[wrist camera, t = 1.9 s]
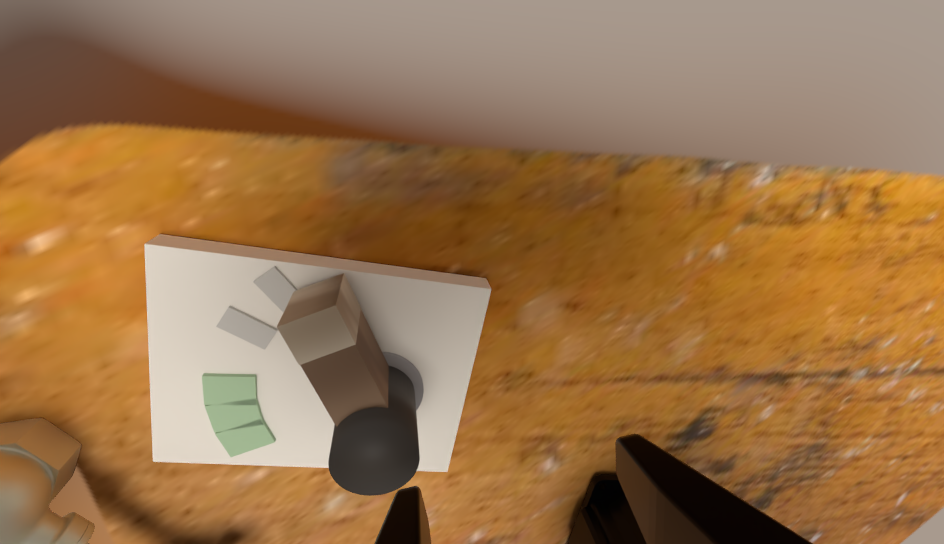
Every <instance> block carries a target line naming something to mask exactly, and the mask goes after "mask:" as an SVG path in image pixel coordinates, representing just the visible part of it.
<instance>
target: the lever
mask: <svg viewBox="0 0 944 544" xmlns="http://www.w3.org/2000/svg"><path fill="white" fill-rule="evenodd" d="M277 328H278V330H279V332H280V334H281V335H282V337H283V339H284V340H285V342H286V344H287V346H288V347H289V349H290V351H291V352H292V354H293V356H294V357H295V359H296V361H297V363H298V364H299V365H301V367H302V369H303V371H304V372H305V374H306V376H307V377H308V379H309V381H310V383H311V384H312V386H313V388H314V389H315V391H316V393H317V394H318V396H319V398H320V400H321V401H322V403H323V405H324V406H325V408H326V410H327V412H328V413H329V415H330V417H331V418H332V420H333V422H334V424H335V425H334V431H333V437H332V443H331V449H330V455H329V462H328V465H329V471H330V474H331V476H332V477H333V479H334V480H335V482H336V483H337V484H338V485H340V486H341V487H342V488H344V489H346V490H348V491H350V492H352V493H356V494H360V495H381V494H386V493H389V492H392V491H394V490H396V489H398V488H400V487H402V486H403V485H405V484H406V483H407V482H408V481H409V480H410V479H411V478H412V477H413V476H414V474H415V473H416V471H417V469H418V466H419V460H420V454H419V441H418V428H417V415H416V402H415V390H414V386H413V383H412V381H411V380H410V378H409V377H408V376H407V375H406V374H405V373H404V372H402V371H401V370H399V369H397V368H395V367H392V366H389V365H388V363H387V361H386V359H385V357H384V355H383V353H382V351H381V349H380V347H379V345H378V343H377V341H376V339H375V337H374V335H373V332H372V330H371V328H370V326H369V324H368V322H367V320H366V318H365V316H364V314H363V312H362V310H361V307H360V305H359V302H358V300H357V298H356V296H355V294H354V292H353V290H352V288H351V286H350V284H349V282H348V280H347V278H346V276H345V274H344V273H343V274H340V275H337V276H335V277H332V278H329V279H326V280H324V281H321V282H318V283H315V284H313V285H310V286H307V287H304V288H302V289H299V290H296V291H294V292H293V294H292V296H291V298H290V300H289V302H288V304H287V307H286V309H285V311H284V313H283V315H282V317H281V319H280V321H279V323H278V325H277Z"/></svg>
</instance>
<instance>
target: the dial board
mask: <svg viewBox="0 0 944 544" xmlns="http://www.w3.org/2000/svg"><path fill="white" fill-rule="evenodd" d="M145 270H146V295H147V321H148V347H149V372H150V398H151V424H152V450H153V462H177V463H205V464H234V465H262V466H291V467H319V468H329V465H328V462H329V455H330V449H331V443H332V437H333V431H334V425H335V424H334V422H333V420H332V418H331V417H330V415H329V413H328V412H327V410H326V408H325V406H324V405H323V403H322V401H321V400H320V398H319V396H318V394H317V393H316V391H315V389H314V388H313V386H312V384H311V383H310V381H309V379H308V377H307V376H306V374H305V372H304V371H303V369H302V367H301V365H299V364H298V363H297V361H296V359H295V357H294V356H293V354H292V352H291V351H290V349H289V347H288V346H287V344H286V342H285V340H284V339H283V337H282V335H281V334H280V332H279V330H278V328H277V325H278V323H279V321H280V319H281V317H282V315H283V313H284V311H285V309H286V307H287V304H288V302H289V300H290V298H291V296H292V294H293V292H294V291H296V290H299V289H302V288H304V287H307V286H310V285H313V284H315V283H318V282H321V281H324V280H326V279H329V278H332V277H335V276H337V275H340V274H343V273H344V274H345V276H346V278H347V280H348V282H349V284H350V286H351V288H352V290H353V292H354V294H355V296H356V298H357V300H358V302H359V305H360V307H361V310H362V312H363V314H364V316H365V318H366V320H367V322H368V324H369V326H370V328H371V330H372V332H373V335H374V337H375V339H376V341H377V343H378V345H379V347H380V349H381V351H382V353H383V355H384V357H385V359H386V361H387V363H388V365H389V366H392V367H395V368H397V369H399V370H401V371H402V372H404V373H405V374H406V375H407V376H408V377H409V378H410V380H411V381H412V383H413V386H414V390H415V402H416V415H417V428H418V441H419V454H420V460H419V466H418V469H417V471H433V472H447V471H448V467H449V463H450V459H451V455H452V451H453V446H454V442H455V438H456V434H457V430H458V426H459V422H460V418H461V413H462V409H463V405H464V401H465V397H466V393H467V389H468V384H469V380H470V376H471V372H472V368H473V364H474V360H475V356H476V351H477V347H478V343H479V339H480V335H481V331H482V327H483V322H484V318H485V314H486V310H487V306H488V302H489V298H490V294H491V287H490V285H489V283H488V281H487V279H486V278H480V277H473V276H466V275H458V274H451V273H444V272H436V271H429V270H421V269H414V268H407V267H399V266H392V265H385V264H377V263H370V262H363V261H355V260H348V259H340V258H333V257H326V256H318V255H311V254H304V253H296V252H289V251H282V250H274V249H267V248H260V247H252V246H245V245H237V244H230V243H223V242H215V241H208V240H201V239H193V238H186V237H179V236H171V235H164V234H159V235H158V236H156V237H155V238H153V239H151V240H150V241H148V242H147V243H145Z"/></svg>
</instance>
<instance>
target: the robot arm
mask: <svg viewBox="0 0 944 544" xmlns="http://www.w3.org/2000/svg"><path fill="white" fill-rule="evenodd" d="M616 472H617V475H611V474H600V475H597V476H595V477H594V478H593V479H592V481H591V484H590V486H589V489H588V491H587V494H586V497H585V499H584V502H583V504H582V507H581V510H580V512H579V514H578V517H577V520H576V522H575V525H574V528H573V530H572V533H571V535H570V538H569V541H568V544H813V543H811V542H809V541H808V540H806V539H805V538H803V537H801V536H800V535H798V534H797V533H795V532H793V531H792V530H790V529H789V528H787V527H785V526H784V525H782V524H781V523H779V522H777V521H776V520H774V519H773V518H771V517H770V516H768V515H766V514H765V513H763V512H762V511H760V510H758V509H757V508H755V507H754V506H752V505H750V504H749V503H747V502H746V501H744V500H742V499H741V498H739V497H738V496H736V495H734V494H733V493H731V492H730V491H728V490H726V489H725V488H723V487H722V486H720V485H718V484H717V483H715V482H714V481H712V480H711V479H709V478H707V477H706V476H704V475H703V474H701V473H699V472H698V471H696V470H695V469H693V468H691V467H690V466H688V465H687V464H685V463H683V462H682V461H680V460H679V459H677V458H675V457H674V456H672V455H671V454H669V453H667V452H666V451H664V450H663V449H661V448H659V447H658V446H656V445H655V444H653V443H652V442H650V441H648V440H647V439H645V438H644V437H642V436H640V435H638V434H631V435H627V436H623V437H619V438H618V439H617V440H616ZM375 544H431V537H430V529H429V523H428V517H427V513H426V509H425V506H424V502H423V498H422V494H421V490H420V488H419V487H417V486H414V487H409V488H405V489H401V490H399V491H398V492H397V493H396V495H395V497H394V499H393V502H392V504H391V506H390V509H389V511H388V513H387V516H386V518H385V520H384V523H383V525H382V527H381V530H380V532H379V534H378V537H377V539H376V541H375Z"/></svg>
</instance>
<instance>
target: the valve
mask: <svg viewBox="0 0 944 544" xmlns="http://www.w3.org/2000/svg"><path fill="white" fill-rule="evenodd" d="M81 445H82V444H81V443H80V442H78V441H77V440H75V439H74V438H72V437H71V436H69V435H68V434H66V433H65V432H64V431H62V430H61V429H59V428H58V427H56V426H55V425H53V424H52V423H50V422H49V421H47V420H46V419H44V418H35V419H28V420H20V421H13V422H6V423H0V544H89V543H88V541H89V539H90V538H91V536H92V534H93V532H94V528H95V526H94V524H93V523H92V522H90V521H88V520H86V519H85V518H83V517H82V516H80V515H78V514H77V513H75V512H72V513H69V514H67V515H65V516H64V517H61V516H59V515H57V514H56V513H54V512H52V511H51V510H50V508H49V504H50V503H51V501H52V500H53V499H54V498H55V497H56V495H57V494H58V493H59V492H60V490H61V489H62V488H63V487H64V486H65V484H66V483H67V482H68V481H69V480H70V478H71V477H72V475H73V473H74V471H75V468H76V463H77V459H78V456H79V453H80V449H81Z"/></svg>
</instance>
